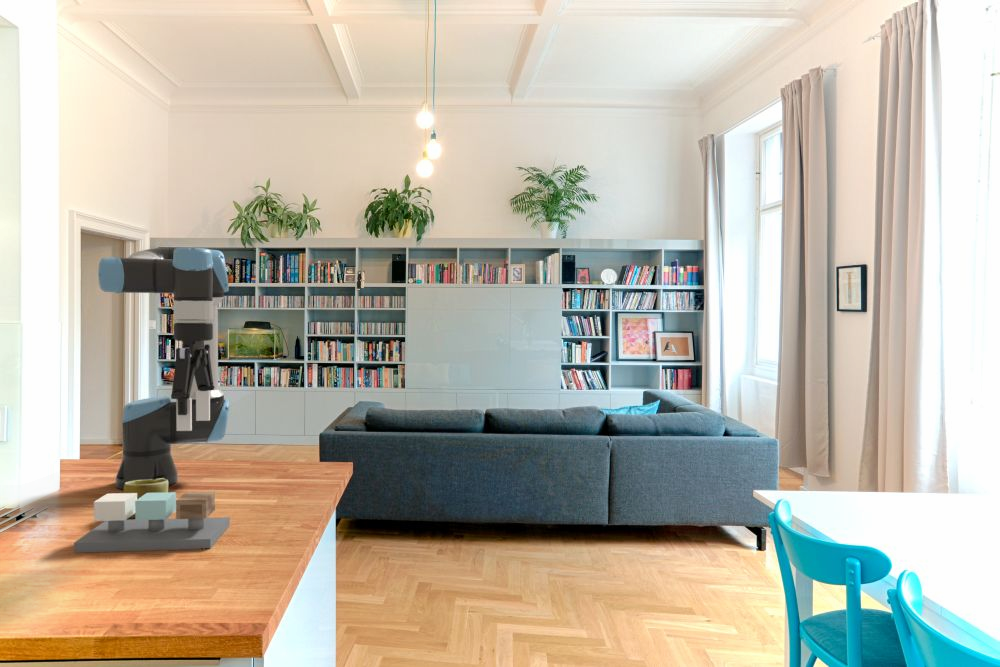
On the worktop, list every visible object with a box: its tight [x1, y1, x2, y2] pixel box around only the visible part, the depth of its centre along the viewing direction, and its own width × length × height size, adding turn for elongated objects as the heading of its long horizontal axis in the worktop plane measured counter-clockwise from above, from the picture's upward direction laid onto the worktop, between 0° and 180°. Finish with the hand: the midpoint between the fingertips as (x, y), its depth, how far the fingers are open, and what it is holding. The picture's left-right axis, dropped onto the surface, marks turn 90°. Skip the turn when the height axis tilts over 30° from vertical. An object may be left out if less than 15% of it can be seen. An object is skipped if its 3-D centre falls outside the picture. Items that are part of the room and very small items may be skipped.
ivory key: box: [93, 492, 137, 522], centre depth 140 cm, size 6×6×4 cm
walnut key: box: [175, 491, 216, 519], centre depth 142 cm, size 6×6×4 cm
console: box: [73, 516, 231, 553], centre depth 142 cm, size 14×26×5 cm, turn 97°
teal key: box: [135, 491, 177, 520], centre depth 141 cm, size 6×6×4 cm
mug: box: [123, 478, 169, 520], centre depth 158 cm, size 12×10×10 cm
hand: (194, 425), depth 141 cm, fingers open, 11 cm apart
